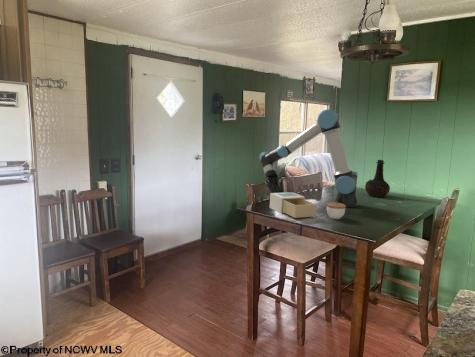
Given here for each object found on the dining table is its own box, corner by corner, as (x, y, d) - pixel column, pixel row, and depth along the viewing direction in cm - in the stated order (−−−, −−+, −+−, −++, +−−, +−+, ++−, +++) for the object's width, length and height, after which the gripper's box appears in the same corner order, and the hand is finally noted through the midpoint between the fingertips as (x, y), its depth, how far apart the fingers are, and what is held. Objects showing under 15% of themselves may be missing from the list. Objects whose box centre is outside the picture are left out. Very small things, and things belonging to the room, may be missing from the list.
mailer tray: (272, 206, 226) (273, 195, 225) (291, 205, 232) (292, 194, 230) (294, 217, 203) (295, 205, 202) (315, 216, 208) (316, 204, 207)
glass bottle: (368, 192, 292) (371, 158, 287) (391, 196, 281) (395, 160, 277) (361, 195, 277) (364, 159, 273) (385, 199, 267) (389, 161, 263)
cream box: (269, 207, 227) (270, 193, 226) (291, 206, 234) (292, 191, 232) (280, 213, 215) (281, 197, 213) (303, 211, 221) (304, 196, 220)
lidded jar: (345, 220, 204) (346, 204, 203) (325, 219, 207) (327, 203, 205) (343, 216, 215) (345, 200, 213) (325, 214, 217) (326, 199, 215)
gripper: (276, 175, 247) (287, 205, 235) (259, 176, 242) (270, 206, 230) (281, 169, 242) (292, 199, 229) (263, 169, 237) (274, 200, 224)
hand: (281, 202), depth 230 cm, fingers closed
